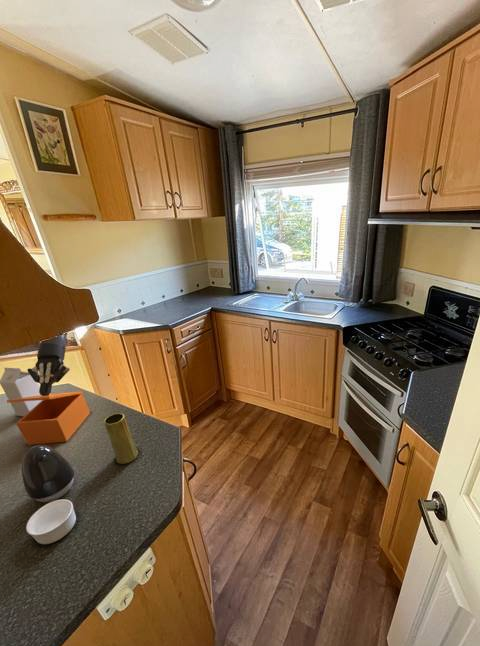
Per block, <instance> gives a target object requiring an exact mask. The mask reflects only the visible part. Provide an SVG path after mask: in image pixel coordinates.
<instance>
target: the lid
mask: <svg viewBox="0 0 480 646" xmlns="http://www.w3.org/2000/svg"><path fill="white" fill-rule="evenodd" d="M76 394H83V391H82V390H79V391H68V392H54V393H50V394H49V395H47V396H43V395H37V396H31V397H24V398H18V399H11V400H9V399H6V403H7V404H11V402H23V401H36V400H48V399H54V398H60V397H65V396H71V395H76Z"/></svg>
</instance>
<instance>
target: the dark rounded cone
mask: <svg viewBox="0 0 480 646" xmlns="http://www.w3.org/2000/svg"><path fill="white" fill-rule="evenodd" d="M21 476H22V478H21V479H22V482H23V483H22V484H23V486H24V490H25V492H26V495H27V496H28V497H29V498H31V499H33V500H35V501H36V502H40V503H50V502H53V501H56V500H59V499H60V498H61V497H63V496H64V495H66V494H67V493H68V492H69V491H70V489H71V488H72V485H73V483H74V479H75V478H74V477H75V471H74V468H73V467H72V465H71V464H70V462H69V461H68V460H67V459H66V458H65V457H64V456H63V455H62V454H61V453H59V451H58V450H55V449H54V448H52V447H51V446H48V445H46V444H36V445H34V446H31V447H30V448H28V449H27V451H26V452H25V453H24V454H23V457H22V461H21Z"/></svg>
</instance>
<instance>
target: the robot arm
mask: <svg viewBox="0 0 480 646" xmlns="http://www.w3.org/2000/svg"><path fill="white" fill-rule="evenodd" d="M67 339H68V332H67V333H65V334H62V335H59V336H57V337H54V338H52V339H49V340H45V341H42V342H41V343H40V342H39V344H38V349H37V354H36V358H37V361H36V362H35V366H33V367H32V368H27V370H26V372H28V373H29V374H30V375H31V377H32V378H33V380H34V381H35V382H37V383H38V384H39V387H40V389H39V393H40V395H43V396H47V395H49V394H52V387H53V385H54V384H55V383H59V382H60V381H61V380H62V379H63V378H64V377H65V375H67V374H68V372H69V371H70V368H69V367H68V366H66V365H65V363H64V360H65V356H66V349H67V343H68V342H67V341H68V340H67Z"/></svg>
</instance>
